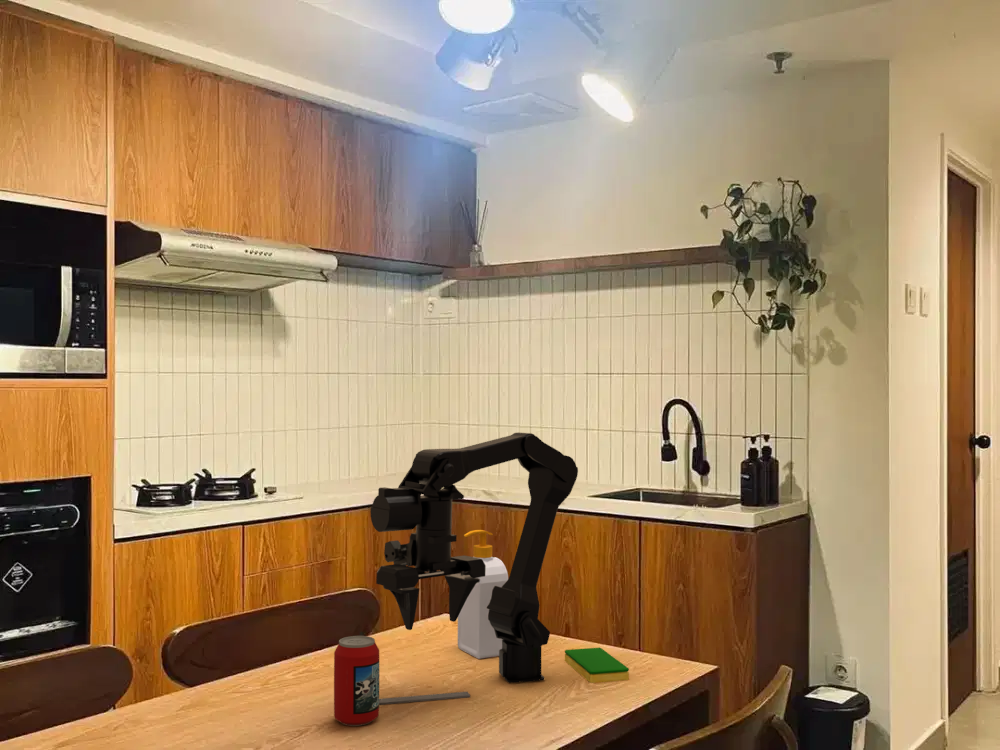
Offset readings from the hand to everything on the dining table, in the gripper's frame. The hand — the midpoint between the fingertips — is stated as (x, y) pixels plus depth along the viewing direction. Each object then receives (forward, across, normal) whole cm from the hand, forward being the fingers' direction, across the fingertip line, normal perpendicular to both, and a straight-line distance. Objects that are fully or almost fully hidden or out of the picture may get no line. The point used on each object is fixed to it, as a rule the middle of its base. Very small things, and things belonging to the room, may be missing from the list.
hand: (431, 625), depth 155 cm
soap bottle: (+11, -24, -14) cm, 30 cm away
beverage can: (+12, +14, 0) cm, 19 cm away
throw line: (+12, +2, -2) cm, 12 cm away
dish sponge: (+12, -32, +8) cm, 35 cm away
